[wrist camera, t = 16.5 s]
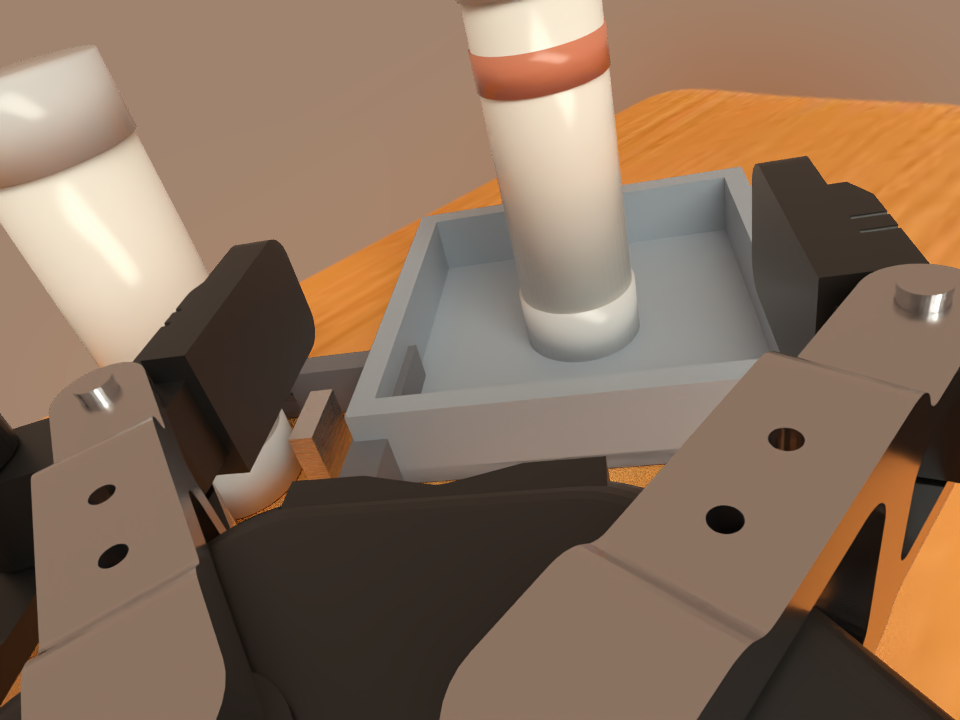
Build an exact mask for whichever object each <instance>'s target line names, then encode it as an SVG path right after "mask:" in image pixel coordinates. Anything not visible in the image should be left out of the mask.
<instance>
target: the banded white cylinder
mask: <svg viewBox="0 0 960 720" xmlns="http://www.w3.org/2000/svg"><path fill="white" fill-rule="evenodd" d="M456 2H457V3H458V4H460V6H461V11H462V16H463V21H464V26H465V30H466V35H467V40H468V44H469V50H468V52H469V57H470V61H471V66H472V71H473V76H474V80H475V85H476V89H477V93H478V94H479V96H480V100H481V105H482V110H483V114H484V119H485V124H486V128H487V133H488V138H489V143H490V147H491V152H492V156H493V161H494V166H495V171H496V175H497V180H498V185H499V189H500V194H501V199H502V203H503V208H504V213H505V217H506V222H507V227H508V231H509V236H510V241H511V245H512V250H513V255H514V260H515V264H516V269H517V274H518V278H519V283H520V290H519V296H520V301H521V305H522V310H523V314H524V319H525V324H526V328H527V333H528V338H529V342H530V344H531V346H532V348H533V349H534V350H535V351H536V352H537V353H539V354H540V355H542V356H544V357H546V358H549V359H552V360H556V361H561V362H586V361H592V360H596V359H600V358H604V357H607V356H609V355H612V354H614V353H616V352H618V351H620V350H621V349H623V348H624V347H626V346H627V345H628V344H629V343H630V342H631V341H632V340H633V339H634V338H635V336H636V335H637V333H638V331H639V327H640V321H639V312H638V302H637V293H636V283H635V275H634V272H633V270H632V268H631V264H630V255H629V245H628V236H627V227H626V218H625V209H624V200H623V190H622V181H621V172H620V163H619V154H618V145H617V135H616V126H615V117H614V108H613V100H612V90H611V80H610V72H609V66H610V55H609V46H608V37H607V28H606V20H605V18H604V16H603V7H602V0H456Z"/></svg>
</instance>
